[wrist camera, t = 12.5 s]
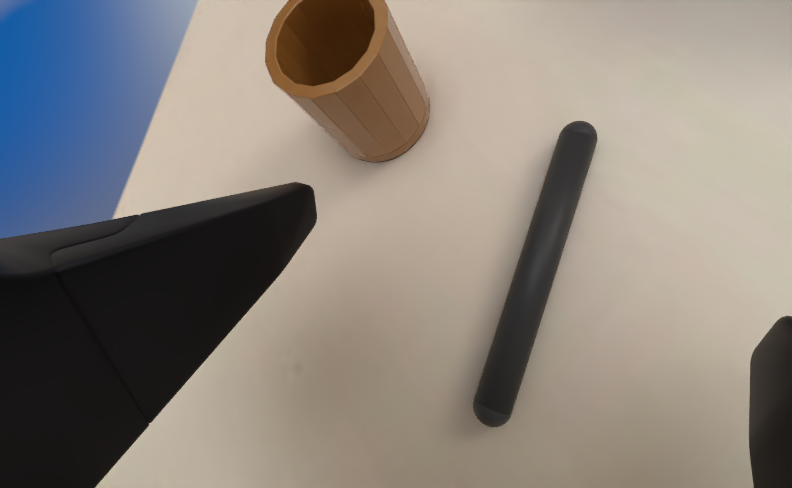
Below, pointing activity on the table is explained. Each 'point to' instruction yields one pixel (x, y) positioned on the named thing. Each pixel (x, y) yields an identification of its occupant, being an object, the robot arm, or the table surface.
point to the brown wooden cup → (349, 74)
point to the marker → (534, 274)
